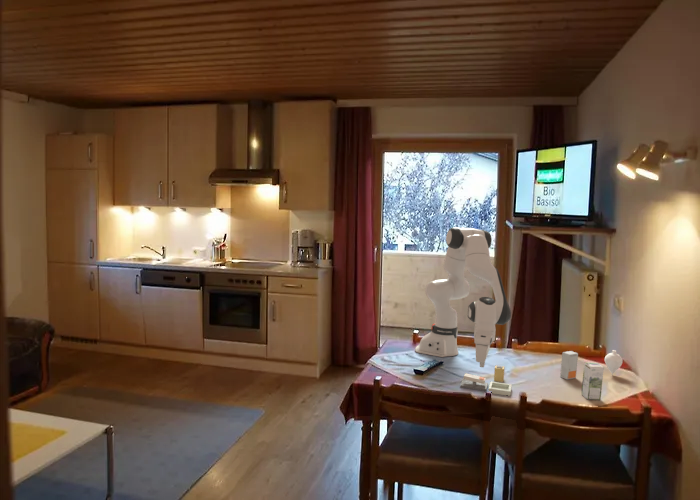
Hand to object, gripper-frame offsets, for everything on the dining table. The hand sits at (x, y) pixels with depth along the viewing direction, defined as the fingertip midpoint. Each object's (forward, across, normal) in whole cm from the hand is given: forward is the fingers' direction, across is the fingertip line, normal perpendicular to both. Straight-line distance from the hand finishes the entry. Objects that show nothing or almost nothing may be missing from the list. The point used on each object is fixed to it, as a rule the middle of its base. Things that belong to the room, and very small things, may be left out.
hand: (482, 366), depth 238 cm
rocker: (+6, 0, -3) cm, 6 cm away
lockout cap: (+10, -13, +7) cm, 17 cm away
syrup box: (+9, -7, +45) cm, 46 cm away
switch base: (+9, 0, -3) cm, 10 cm away
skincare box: (+9, -30, +37) cm, 48 cm away
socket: (+9, +1, +8) cm, 12 cm away
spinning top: (+9, -43, +56) cm, 72 cm away
